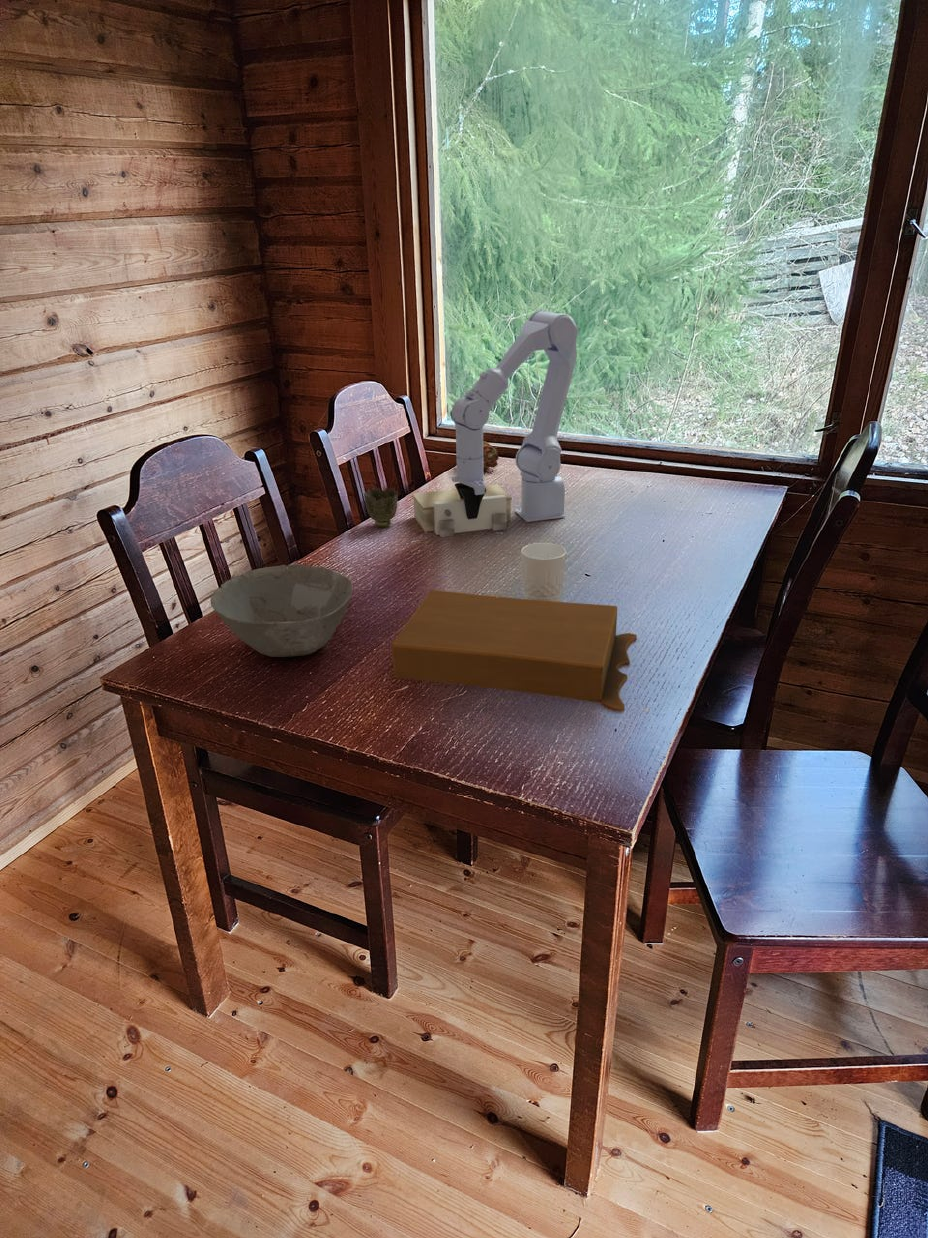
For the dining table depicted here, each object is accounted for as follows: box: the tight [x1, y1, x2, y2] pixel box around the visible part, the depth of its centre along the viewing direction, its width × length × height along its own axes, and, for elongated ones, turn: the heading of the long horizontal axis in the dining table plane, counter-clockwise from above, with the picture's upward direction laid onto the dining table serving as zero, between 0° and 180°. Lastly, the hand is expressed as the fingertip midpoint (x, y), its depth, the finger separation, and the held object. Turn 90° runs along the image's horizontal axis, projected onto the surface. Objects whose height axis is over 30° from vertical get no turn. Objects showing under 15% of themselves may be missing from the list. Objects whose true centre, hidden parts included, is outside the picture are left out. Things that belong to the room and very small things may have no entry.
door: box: [434, 495, 506, 536], centre depth 183 cm, size 16×3×7 cm, turn 106°
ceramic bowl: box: [210, 563, 354, 658], centre depth 136 cm, size 22×23×10 cm
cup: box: [363, 487, 399, 529], centre depth 186 cm, size 8×7×8 cm
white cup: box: [520, 542, 567, 602], centre depth 149 cm, size 8×8×10 cm
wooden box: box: [391, 589, 638, 712], centre depth 131 cm, size 23×6×35 cm
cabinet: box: [411, 484, 513, 538], centre depth 188 cm, size 20×15×6 cm
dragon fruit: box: [483, 440, 500, 473], centre depth 224 cm, size 8×8×12 cm
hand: (470, 516), depth 183 cm, fingers closed on door, 2 cm apart
